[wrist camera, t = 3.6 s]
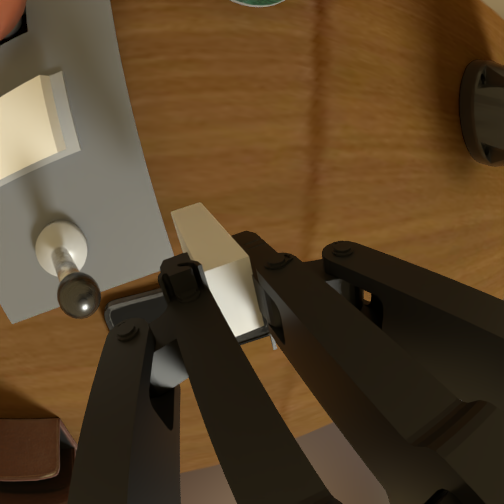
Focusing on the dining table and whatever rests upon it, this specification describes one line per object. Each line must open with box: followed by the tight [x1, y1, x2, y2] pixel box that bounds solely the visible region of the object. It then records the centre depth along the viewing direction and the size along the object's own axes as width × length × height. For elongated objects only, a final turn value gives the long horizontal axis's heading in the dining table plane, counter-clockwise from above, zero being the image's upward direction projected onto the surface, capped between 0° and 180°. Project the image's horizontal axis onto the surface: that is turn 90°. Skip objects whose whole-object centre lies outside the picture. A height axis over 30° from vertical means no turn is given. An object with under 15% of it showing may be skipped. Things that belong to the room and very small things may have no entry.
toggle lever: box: [51, 247, 101, 319], centre depth 14 cm, size 2×2×8 cm
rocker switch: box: [0, 75, 66, 180], centre depth 13 cm, size 6×4×2 cm
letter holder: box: [0, 418, 78, 504], centre depth 19 cm, size 10×20×14 cm, turn 89°
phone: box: [104, 288, 270, 345], centre depth 27 cm, size 8×1×15 cm
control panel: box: [0, 0, 174, 324], centre depth 15 cm, size 14×24×4 cm, turn 11°
